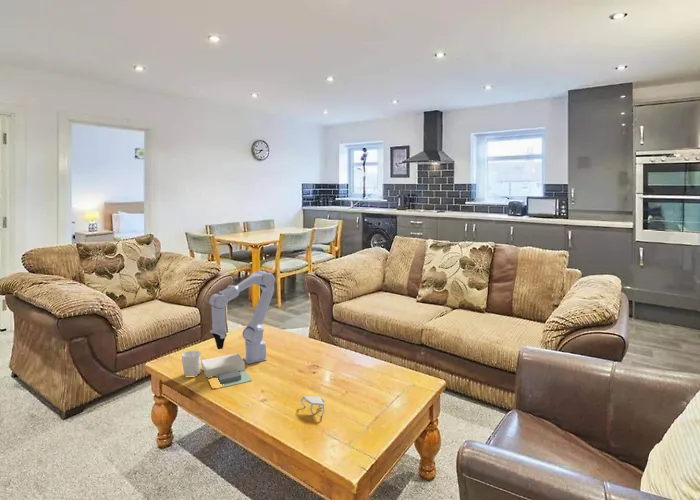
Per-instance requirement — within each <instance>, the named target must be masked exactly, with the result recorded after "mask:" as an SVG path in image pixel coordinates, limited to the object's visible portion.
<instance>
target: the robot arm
mask: <svg viewBox="0 0 700 500" xmlns="http://www.w3.org/2000/svg"><path fill="white" fill-rule="evenodd" d="M275 282H276V277H275V276H274V274H273V273H272V272H268V271H263V270H261V269H259V270H256V271H254V272H252V274H250V275H249V276H248V277H246V278H245V279H243V280H242V281H241V282H239V283H238V284H236V285H228V286H227V288H225V289H223V290H219V291H218V293H213V294H212V295H211V296H210V297H209V300H208V304H209V305H210V307H211V321H212V322H211V323H212V324H211V326H212V327H211V328H212V329H210V330H209V333H211V335H212V336H213V339H214V341H215V345H216V347H217V350H223V349H224V344H225V340H226V338H227V333H226V332H227V328H226V327H227V326H226V308H225V307H226V305H227V304H228V303H229V302H230V301H232V300H234V299H235V298H237V297H239V294H240V292H243V291H244V290H246V289H247V288H249V287H251V286H253V285H258V286H259V288H260V289H261V291H262V292H261V294H260V297H259V299H258V302H257V304H256V308H255V311H254V314H253V316H252V319H251V321H250V322H248V323H247V324H246V327H245V328H244V329H243V331H242V333H241V334H242V338H243V339H244V342H245V343H244V345H245V356H243V358H242V359H244V360H243V361H244V362H245V363H246V364H248V365H249V364H253V363H259V362H263V361H267V347H266V342H265V340H264V331H265V330H264V326H263V323H264V320H265V318H266V314H267V312H268V309H269V306H270V304H271V301H272V297H273V296H274V293H275Z"/></svg>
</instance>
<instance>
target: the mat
mask: <svg viewBox="0 0 700 500" xmlns="http://www.w3.org/2000/svg"><path fill="white" fill-rule="evenodd" d="M239 373H240V374H241V380H237V381H233V382H228V383H224V385H223V384H222V385H223V386H222V387H223V388H226V387H225V386H227V387H230V385H232V386H236V385H240V383H241V384H245V383H249V382H252V381H253V379H252V377H251V376H250V375H249V374H248V372H247V371H246V370H244V371H240V372H239ZM235 384H236V385H235Z"/></svg>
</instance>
